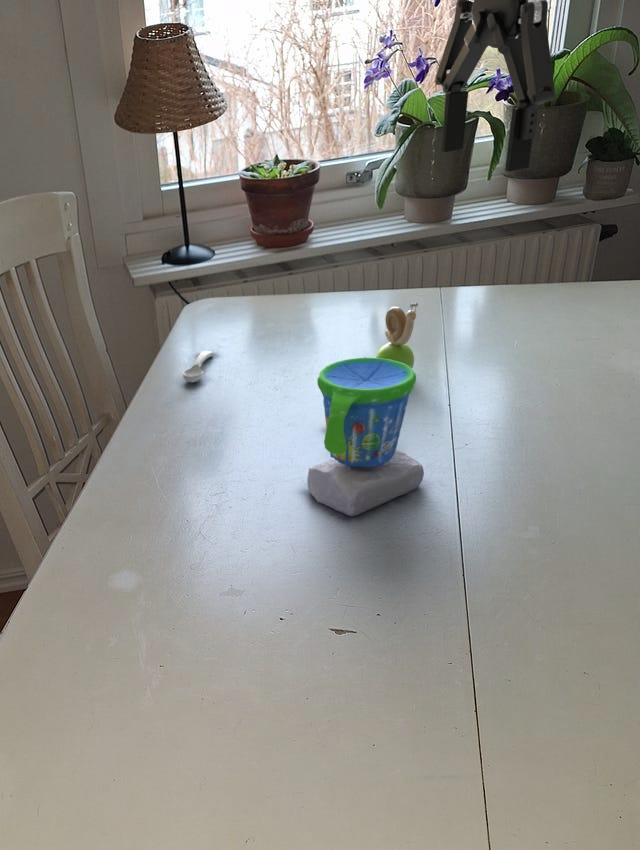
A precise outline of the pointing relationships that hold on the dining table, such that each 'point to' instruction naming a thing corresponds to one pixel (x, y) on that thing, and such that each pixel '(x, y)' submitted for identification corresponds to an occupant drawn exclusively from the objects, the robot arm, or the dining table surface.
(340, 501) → the stone block
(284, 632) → the dining table surface
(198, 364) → the spoon
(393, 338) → the snail figurine
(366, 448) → the snack cup
